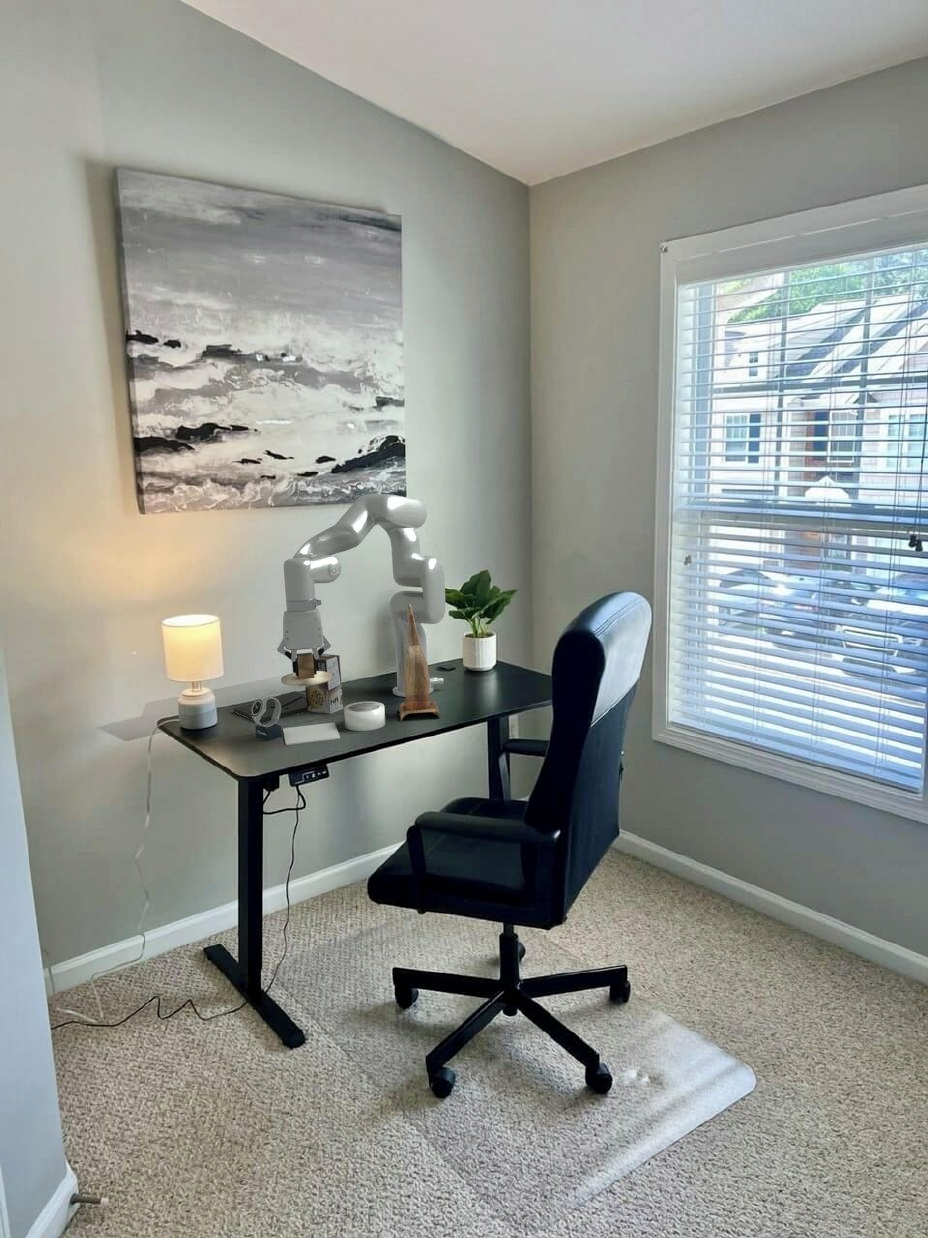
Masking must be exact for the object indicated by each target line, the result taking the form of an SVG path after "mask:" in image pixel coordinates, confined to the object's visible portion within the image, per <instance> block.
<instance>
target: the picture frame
mask: <svg viewBox="0 0 928 1238" xmlns="http://www.w3.org/2000/svg"><path fill="white" fill-rule="evenodd" d="M304 695H305V694H303V693H301V692H298V691H297V690H294V691H291V692H286V693H281V694H280V695H279V696H278V697H275V698H276V699H277V700H278V701H279V702H280V704H281V713H280V717H279V719H283V718H287V717H291V716H295V715H298V713H299V714H303V713H307V712H309V711H308V707H307V703H306V696H304ZM252 705H253V703H250V704H245V705H241V706H236V707H233V713H234V712H237V713H239V714H241V715H244V716H246V717H248V718H250V719H252V720H251V721H253V718H252V715H251V707H252ZM275 705H276V704H275V702H274V700H273V699H272V698H271V699H267V703H266V711H265V712H264V714H263V715H262V716H261V719H260V720H259V721H260V723H261V724H263V722H264V723H267V722H271V720H272V719H271V718H272V716H273V713H274V709H275ZM306 711H307V712H306ZM302 712H303V713H302ZM239 714H238V715H239ZM241 715H240V716H241ZM246 717H245V718H246ZM248 718H247V719H248ZM250 719H249V720H250ZM279 719H278V720H279Z"/></svg>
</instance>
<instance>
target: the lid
mask: <svg viewBox="0 0 928 1238" xmlns="http://www.w3.org/2000/svg"><path fill="white" fill-rule="evenodd" d="M296 658H297V661H298V672H299V676H296V673H293V672H292V673H288V674H285V675H284V676H282V677H281V684H283V685H286V686H289V687H290V686H291V687H305V686H310V685H317V684H321V683H325V682H327V681H329V680H331V674H330V673H328V672H324V671H317V674H316V675H315V674H314V662H313V651H312V652H301V653H297V654H296Z"/></svg>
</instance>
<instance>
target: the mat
mask: <svg viewBox="0 0 928 1238" xmlns="http://www.w3.org/2000/svg"><path fill="white" fill-rule="evenodd" d="M282 731H283V732H282V733H283V738H284V741H285V746H295V745H302V744H309V743H311V744H312V743H318V742H319V743H320V742H327V741H328V742H329V741H335V740H337V741H338V740H341V736H340V733H339V731H338V728H337V726H336V723H335V722H327V723H319V724H311V725H310V724H309V725H300V726H293V727H292V726H291V727H285V728H284V727H283V728H282Z"/></svg>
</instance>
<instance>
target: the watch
mask: <svg viewBox="0 0 928 1238" xmlns="http://www.w3.org/2000/svg"><path fill="white" fill-rule="evenodd" d="M276 698H277V697H273V696H270V695H264V696H261V697H259V698H257V699H255V701H254V702H253V703H252V704H253V705H252V707H251V715H252V718H253V720H254V721H253V720H252V721H253V722H254V723H255V724H256V725H255V735H256V738H258V737H259V738H258V739H261V740H264V741H267V742H269V741H272V740H276V739H279V738H283V737H282V736H283V735H282V725H281V724H277V723H278V722H279V717H280V713H281V704H280V702H279V701H278V700H277V699H276ZM270 699H273V700H274V702H275V704H276V705H275V709H274V713H273V716H272V718H271V719H272V720H271V721H268V722H264V723H260V721H259V720H260V719H261V716H262V715H263V714H264V712H265V711H266V703H267V700H270Z"/></svg>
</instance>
